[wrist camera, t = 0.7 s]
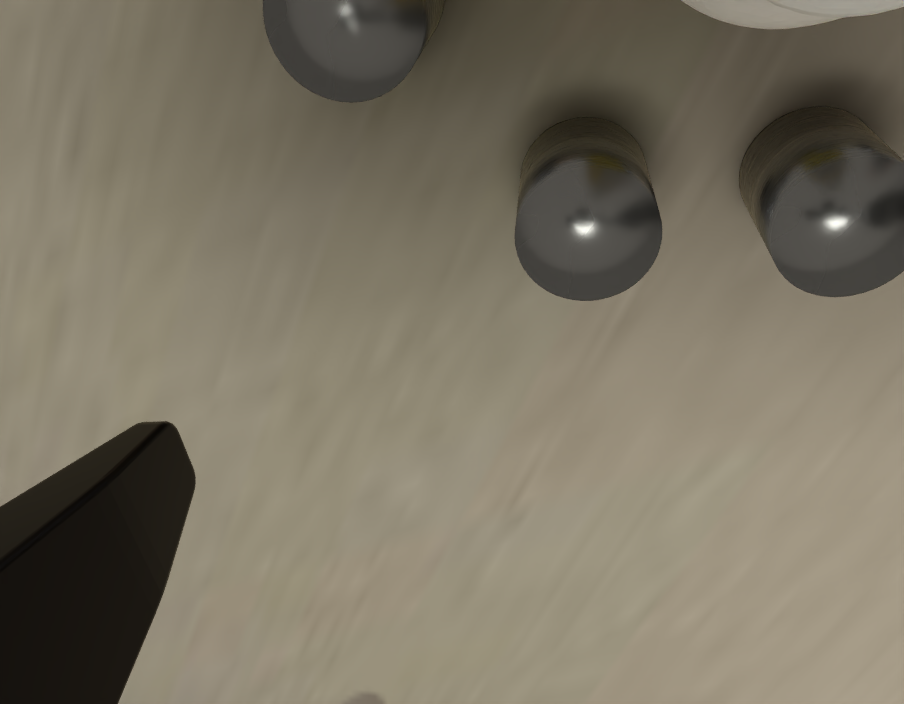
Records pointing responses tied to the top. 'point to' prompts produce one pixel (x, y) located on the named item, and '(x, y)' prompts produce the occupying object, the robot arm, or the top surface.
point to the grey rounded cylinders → (630, 168)
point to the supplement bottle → (789, 11)
